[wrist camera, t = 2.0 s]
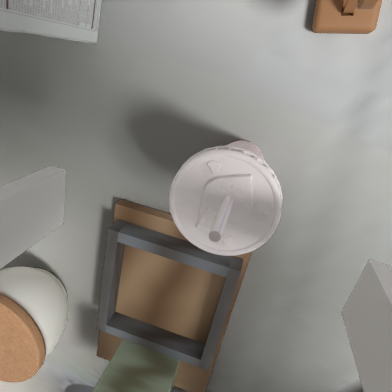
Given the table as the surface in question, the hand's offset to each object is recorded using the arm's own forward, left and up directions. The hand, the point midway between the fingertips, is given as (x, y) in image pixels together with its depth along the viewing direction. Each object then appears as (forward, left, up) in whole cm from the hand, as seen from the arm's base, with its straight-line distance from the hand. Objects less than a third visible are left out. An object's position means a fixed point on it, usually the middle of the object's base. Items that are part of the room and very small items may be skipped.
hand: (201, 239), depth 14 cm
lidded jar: (+18, +21, -14) cm, 31 cm away
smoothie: (0, 0, -14) cm, 14 cm away
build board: (+3, +17, -14) cm, 22 cm away
